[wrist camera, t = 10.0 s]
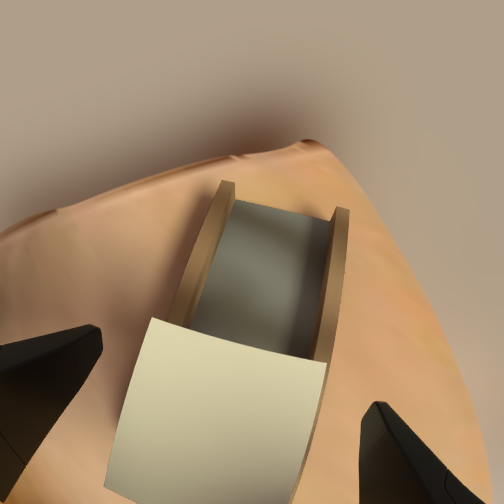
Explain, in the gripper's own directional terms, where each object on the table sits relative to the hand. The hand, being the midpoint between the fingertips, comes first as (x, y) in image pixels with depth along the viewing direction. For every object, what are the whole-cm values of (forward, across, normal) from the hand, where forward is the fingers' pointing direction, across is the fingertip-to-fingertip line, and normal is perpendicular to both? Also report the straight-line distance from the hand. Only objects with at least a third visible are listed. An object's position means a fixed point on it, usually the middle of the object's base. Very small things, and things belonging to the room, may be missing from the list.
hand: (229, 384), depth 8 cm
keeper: (+5, 0, +7) cm, 9 cm away
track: (+9, 0, +5) cm, 11 cm away
